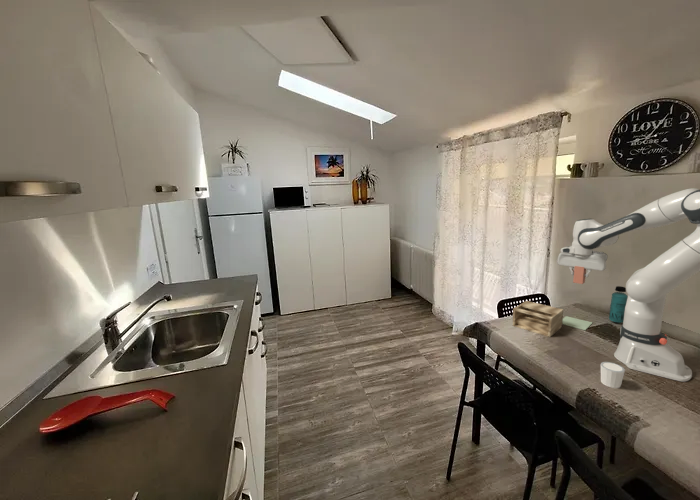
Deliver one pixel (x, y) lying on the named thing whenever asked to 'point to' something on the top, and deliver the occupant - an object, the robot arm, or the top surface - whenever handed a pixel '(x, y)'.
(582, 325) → the zone pad
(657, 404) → the top surface
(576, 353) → the top surface
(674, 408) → the top surface
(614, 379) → the white cup
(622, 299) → the beverage bottle
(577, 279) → the block
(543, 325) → the wooden crate
